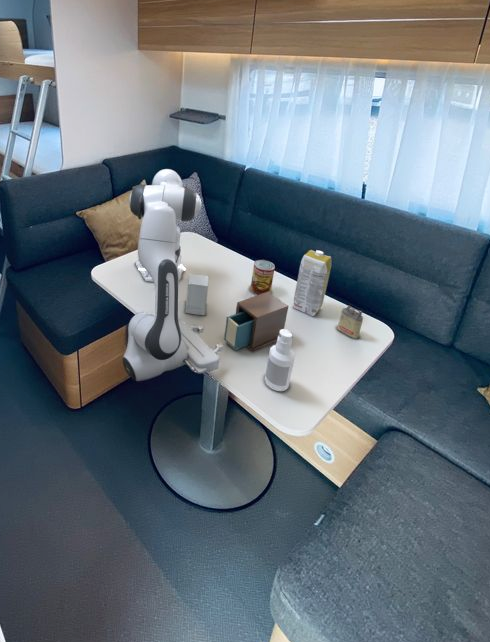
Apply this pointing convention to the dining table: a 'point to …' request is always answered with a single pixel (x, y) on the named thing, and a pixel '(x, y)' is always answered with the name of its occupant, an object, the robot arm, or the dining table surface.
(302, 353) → the dining table surface
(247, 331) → the container
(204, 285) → the white packaging box
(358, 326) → the lighter
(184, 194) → the robot arm
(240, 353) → the dining table surface
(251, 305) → the drawer cabinet
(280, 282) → the dining table surface
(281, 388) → the spray bottle
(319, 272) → the juice carton
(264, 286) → the canned food
